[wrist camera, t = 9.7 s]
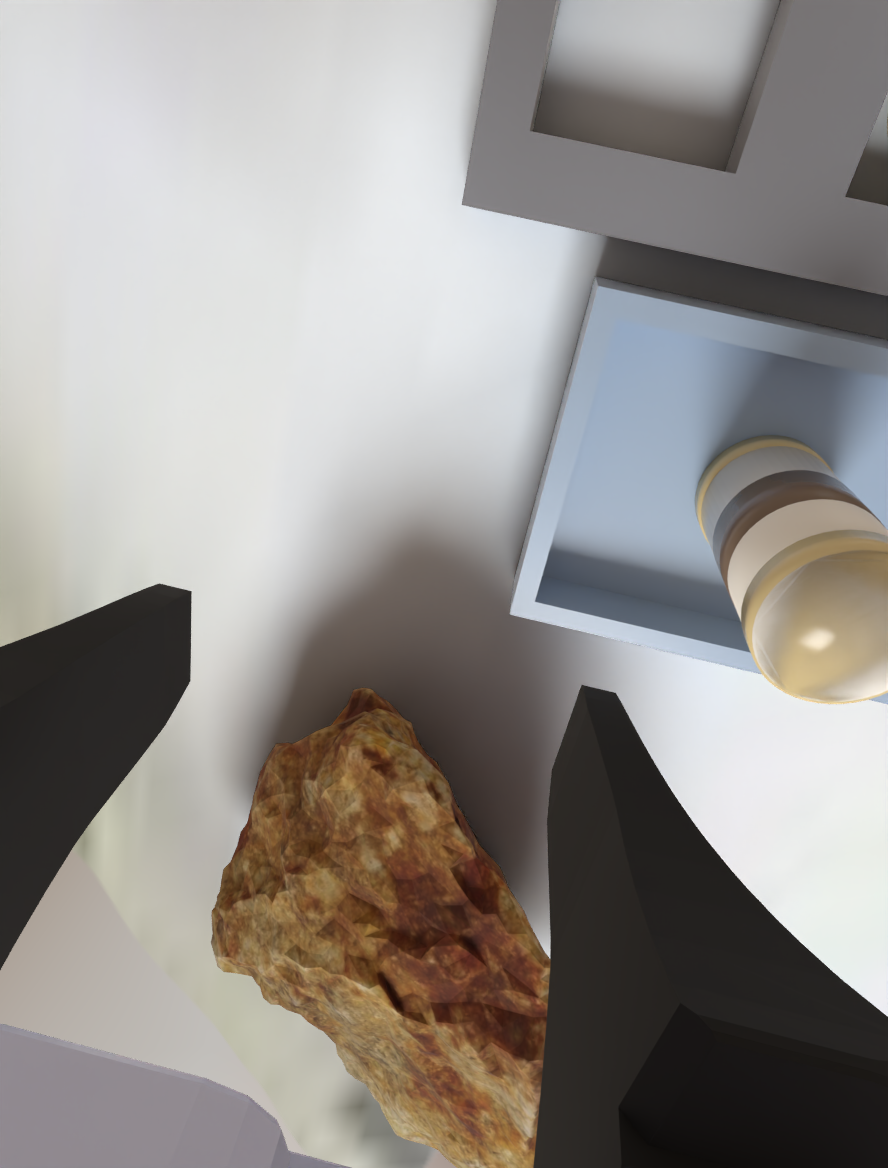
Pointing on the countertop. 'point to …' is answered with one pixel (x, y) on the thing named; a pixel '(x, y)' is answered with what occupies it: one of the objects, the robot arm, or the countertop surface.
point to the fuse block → (697, 194)
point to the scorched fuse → (800, 568)
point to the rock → (392, 935)
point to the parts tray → (683, 459)
